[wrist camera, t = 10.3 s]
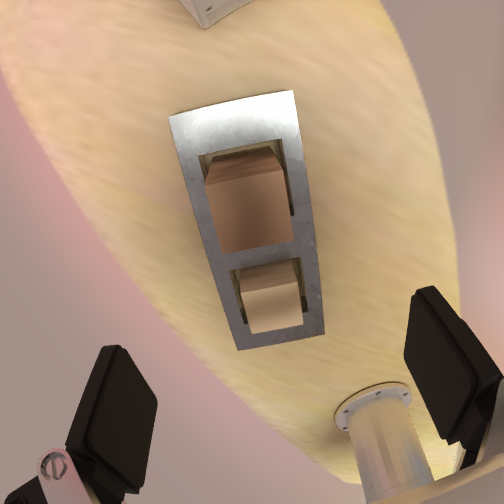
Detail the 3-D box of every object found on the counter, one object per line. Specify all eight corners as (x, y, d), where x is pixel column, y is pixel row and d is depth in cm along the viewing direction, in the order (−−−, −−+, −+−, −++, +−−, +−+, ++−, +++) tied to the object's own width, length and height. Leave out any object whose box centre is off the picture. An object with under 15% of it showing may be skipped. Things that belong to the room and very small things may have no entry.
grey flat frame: (319, 318, 34) (324, 334, 32) (237, 334, 34) (237, 350, 32) (286, 90, 23) (292, 90, 21) (174, 114, 23) (167, 117, 21)
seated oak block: (294, 291, 32) (303, 324, 28) (249, 300, 32) (251, 334, 28) (288, 251, 30) (297, 281, 25) (239, 261, 30) (240, 293, 26)
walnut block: (269, 145, 25) (282, 170, 18) (278, 198, 27) (294, 240, 20) (213, 157, 25) (204, 185, 18) (225, 208, 28) (222, 254, 20)
